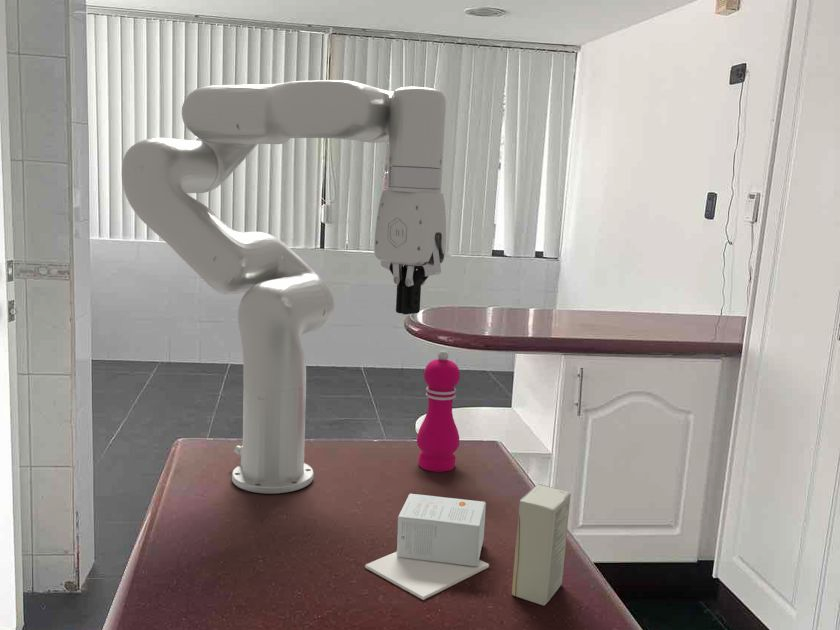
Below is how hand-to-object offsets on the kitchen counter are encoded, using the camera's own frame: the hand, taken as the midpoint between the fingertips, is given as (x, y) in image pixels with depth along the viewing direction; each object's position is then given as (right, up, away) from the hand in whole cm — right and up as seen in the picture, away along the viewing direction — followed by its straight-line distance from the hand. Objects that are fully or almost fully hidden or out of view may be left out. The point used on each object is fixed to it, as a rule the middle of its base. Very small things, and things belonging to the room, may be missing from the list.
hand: (407, 312), depth 112 cm
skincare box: (+16, -34, -17) cm, 41 cm away
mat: (+3, -32, -13) cm, 34 cm away
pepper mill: (+5, -26, +23) cm, 35 cm away
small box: (-1, -28, -8) cm, 29 cm away
